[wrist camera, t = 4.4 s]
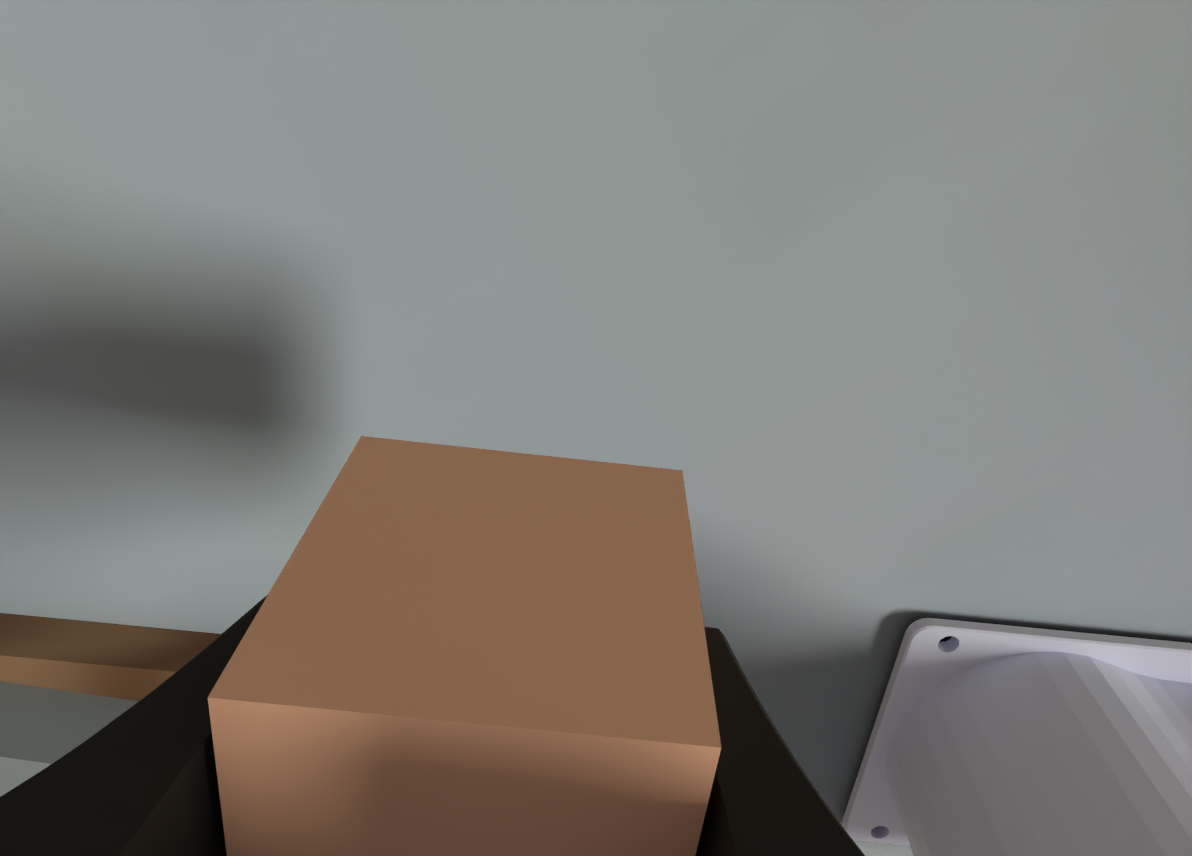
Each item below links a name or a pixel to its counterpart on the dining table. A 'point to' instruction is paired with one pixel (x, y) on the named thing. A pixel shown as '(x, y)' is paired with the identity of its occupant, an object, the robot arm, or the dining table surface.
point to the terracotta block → (475, 667)
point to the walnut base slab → (93, 655)
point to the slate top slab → (46, 727)
